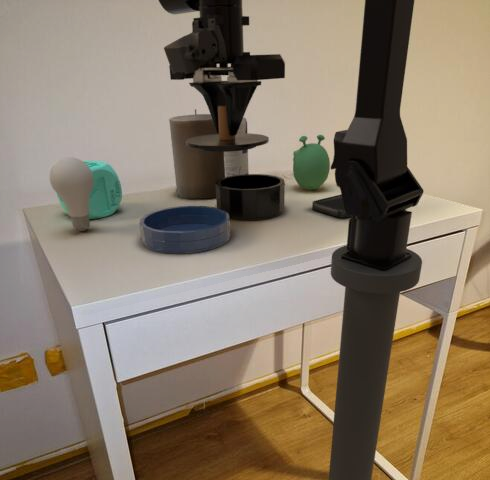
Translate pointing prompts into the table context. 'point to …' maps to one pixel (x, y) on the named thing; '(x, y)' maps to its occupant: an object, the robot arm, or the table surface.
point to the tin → (251, 196)
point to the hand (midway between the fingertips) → (226, 134)
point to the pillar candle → (195, 157)
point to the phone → (331, 206)
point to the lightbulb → (73, 188)
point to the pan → (185, 229)
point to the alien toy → (311, 164)
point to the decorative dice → (102, 190)
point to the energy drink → (237, 157)
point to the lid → (226, 138)
